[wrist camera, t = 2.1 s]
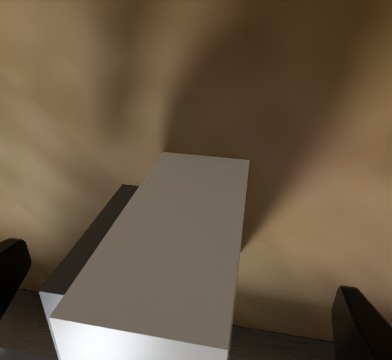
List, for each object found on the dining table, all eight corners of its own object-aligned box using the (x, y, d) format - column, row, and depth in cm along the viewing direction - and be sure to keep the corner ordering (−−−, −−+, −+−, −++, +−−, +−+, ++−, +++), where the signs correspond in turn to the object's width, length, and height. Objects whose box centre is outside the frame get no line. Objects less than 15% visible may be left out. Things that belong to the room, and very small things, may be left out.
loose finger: (249, 159, 11) (227, 349, 5) (240, 252, 13) (216, 471, 7) (140, 149, 12) (6, 309, 6) (147, 239, 14) (50, 431, 8)
